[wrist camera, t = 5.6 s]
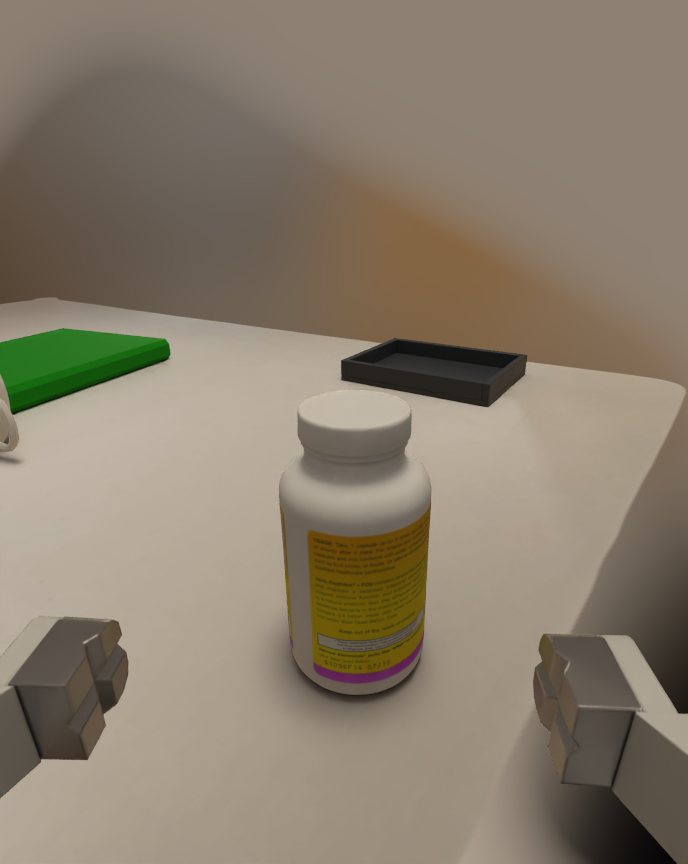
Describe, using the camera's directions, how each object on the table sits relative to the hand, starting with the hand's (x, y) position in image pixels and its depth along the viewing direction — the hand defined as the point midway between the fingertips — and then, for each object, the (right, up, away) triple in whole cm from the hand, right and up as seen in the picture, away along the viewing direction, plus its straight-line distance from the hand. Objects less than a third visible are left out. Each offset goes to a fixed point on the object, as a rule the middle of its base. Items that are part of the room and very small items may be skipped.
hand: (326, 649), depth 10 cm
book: (-42, +12, +61) cm, 75 cm away
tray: (+12, +11, +58) cm, 60 cm away
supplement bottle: (+1, -7, +16) cm, 18 cm away
